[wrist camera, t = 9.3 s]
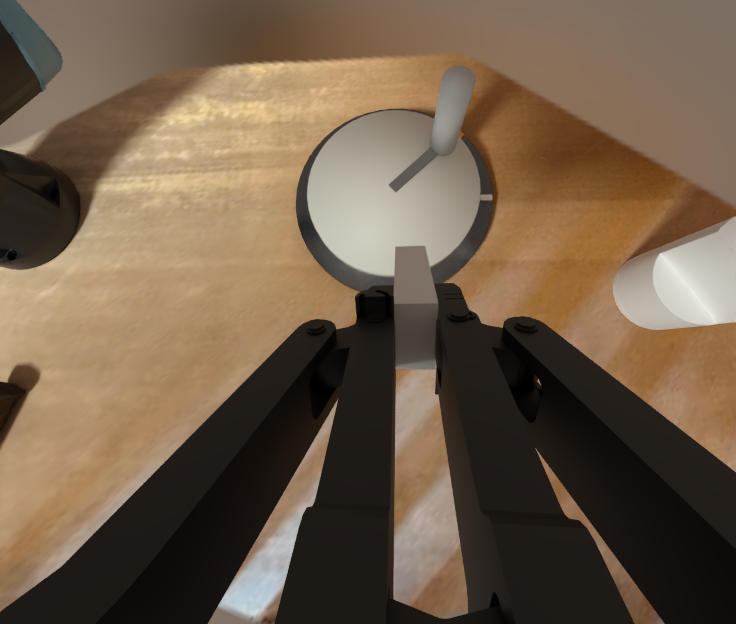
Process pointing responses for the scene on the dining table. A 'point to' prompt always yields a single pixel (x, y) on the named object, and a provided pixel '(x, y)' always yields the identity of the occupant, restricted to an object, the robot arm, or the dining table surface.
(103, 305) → the dining table surface
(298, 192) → the dial base
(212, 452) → the robot arm
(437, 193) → the dial
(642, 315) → the cylinder with rectangular tab
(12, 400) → the hand tool
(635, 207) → the dining table surface
